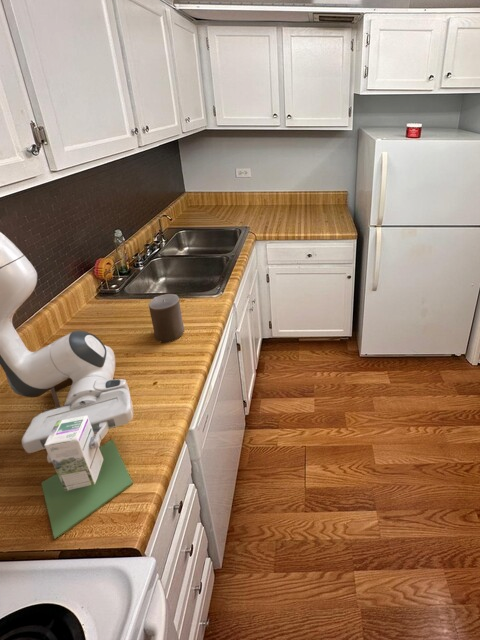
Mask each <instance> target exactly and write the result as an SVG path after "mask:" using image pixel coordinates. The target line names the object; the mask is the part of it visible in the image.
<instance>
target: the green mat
mask: <svg viewBox="0 0 480 640" xmlns="http://www.w3.org/2000/svg"><path fill="white" fill-rule="evenodd" d="M99 449H100V452H101V454H102V457H103V463H102V466H101V469H100V472H99V475H98V478H97V480H96V483H95V485H92V486H88V487H83V488H79V489H75V490H71V491H65V490H64V488H63V485H62V483H61V481H60V479H59V476H58V474H57V472H55V474H53V475H52V476H50V477H49V478H46V479H44V480H43V481H42V482H41V484H40V485H41V488H42V492H43V496H44V502H45V505H46V509H47V513H48V518H49V523H50V527H51V531H52V536H53V539H54V540H55V539H56V538H57V537H58V538H60V537H61V536H63V535H64V534H65V533H67V532H69V529H70V530H71V529H73V528H74V527H76V526H77V525H78V524H80V523H81V522H82V521H84V520H85V519H86V518H88V517H89V516H90V515H92V514H93V513H95V512H96V511H97V510H99V509H100V508H102V507H103V506H104V505H106V504H107V503H108V502H110V501H111V500H113V499H114V498H116V497H117V496H118V495H120V494H121V493H123V492H124V491H126V490H127V489H128V488H130V487H131V486H132V485H134V482H133V480H132V478H131V476H130V474H129V470H128V469H127V467H126V465H125V462H124V460H123V458H122V456H121V454H120V451H119V450H118V447H117V445H116V444H115V441H114V439H110V440H109V441H107V442H106V443H104V444H102V445H100V447H99ZM66 531H67V532H66ZM63 533H64V534H63ZM62 534H63V535H62ZM60 535H61V536H60ZM59 536H60V537H59ZM58 538H57V539H58ZM57 539H56V540H57Z"/></svg>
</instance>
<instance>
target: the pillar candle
mask: <svg viewBox="0 0 480 640" xmlns="http://www.w3.org/2000/svg"><path fill="white" fill-rule="evenodd" d="M148 307H149V308H148V310H149V313H150V320H151V324H152V328H153V333H154V338H155V339H156V341H157V340H158V341H157V342H159V341H161V342H160V343H170V342H169V341H171V342H173V341H172V340H174V341H176V340H178V339H180V338H181V337H182V336H183V335H184V333H185V326H184V325H185V324H184V320H183V315H182V314H183V313H182V309H181V308H182V307H181V303H180V297H179V296H178V295H177V294H174V293H166V294H161V295H158V296H155V297H153V298H152V299H151V300H150V301H149V302H148ZM183 332H184V333H183ZM182 334H183V335H182ZM181 335H182V336H181ZM180 336H181V337H180ZM177 338H178V339H177ZM175 339H176V340H175Z"/></svg>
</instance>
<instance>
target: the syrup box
mask: <svg viewBox="0 0 480 640" xmlns="http://www.w3.org/2000/svg"><path fill="white" fill-rule="evenodd" d="M93 436H96V434H94V432H93V429H92V426H91V424H90V421H89V418H88V416H87V415H86V416H81V417H75V418H70V419H65V420H59V421H57V422H56V424H55V426H54V427H53V429H52V431H51V433H50V435H49V437H48V439H47V441H46V443H45V445H44V446H45V448H46V449H45V450H46V453H47V455H49V457H50V459H51V461H52V462H51V463H52V465H53V468H54V470H55V473H57V474H58V476H59V479H60V481H61V483H62V485H63V488H64V490H65V491H71V490H75V489H79V488H83V487H88V486H92V485H95V483H96V480H97V478H98V475H99V472H100V469H101V466H102V463H103V457H102V454H101V452H100V449H99V447H97V448H94V449H91V447H90V441H91V440H90V439H91V437H93Z"/></svg>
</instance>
